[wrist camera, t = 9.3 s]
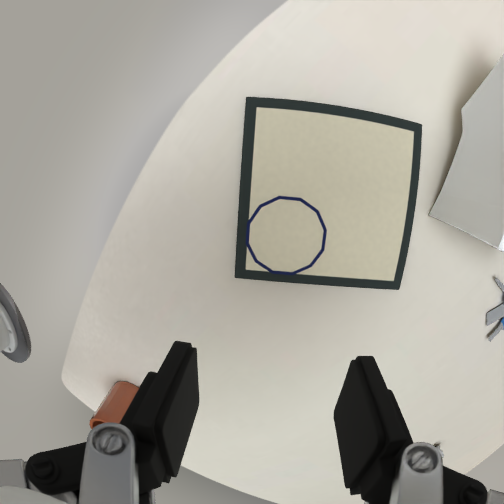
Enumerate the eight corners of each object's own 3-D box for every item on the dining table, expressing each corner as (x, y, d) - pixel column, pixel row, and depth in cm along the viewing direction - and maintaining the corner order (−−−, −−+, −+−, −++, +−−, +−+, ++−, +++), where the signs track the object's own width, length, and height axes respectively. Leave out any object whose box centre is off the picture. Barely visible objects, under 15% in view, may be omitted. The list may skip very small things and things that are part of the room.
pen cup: (117, 403, 36) (96, 439, 28) (109, 377, 34) (84, 413, 27) (151, 413, 36) (133, 452, 28) (145, 386, 34) (123, 427, 26)
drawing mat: (235, 275, 28) (234, 278, 28) (246, 98, 24) (246, 96, 23) (397, 287, 28) (399, 290, 27) (419, 125, 23) (422, 124, 22)
